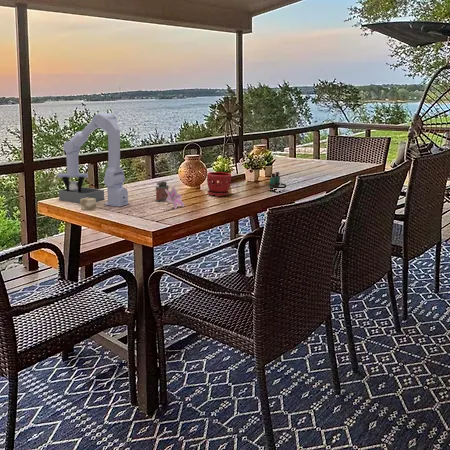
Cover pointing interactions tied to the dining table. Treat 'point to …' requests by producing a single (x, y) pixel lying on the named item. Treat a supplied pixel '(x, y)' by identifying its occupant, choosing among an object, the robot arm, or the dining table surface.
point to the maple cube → (88, 203)
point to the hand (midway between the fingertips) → (74, 191)
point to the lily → (174, 197)
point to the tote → (81, 195)
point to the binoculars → (275, 181)
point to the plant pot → (220, 187)
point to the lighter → (161, 191)
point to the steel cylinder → (73, 186)
